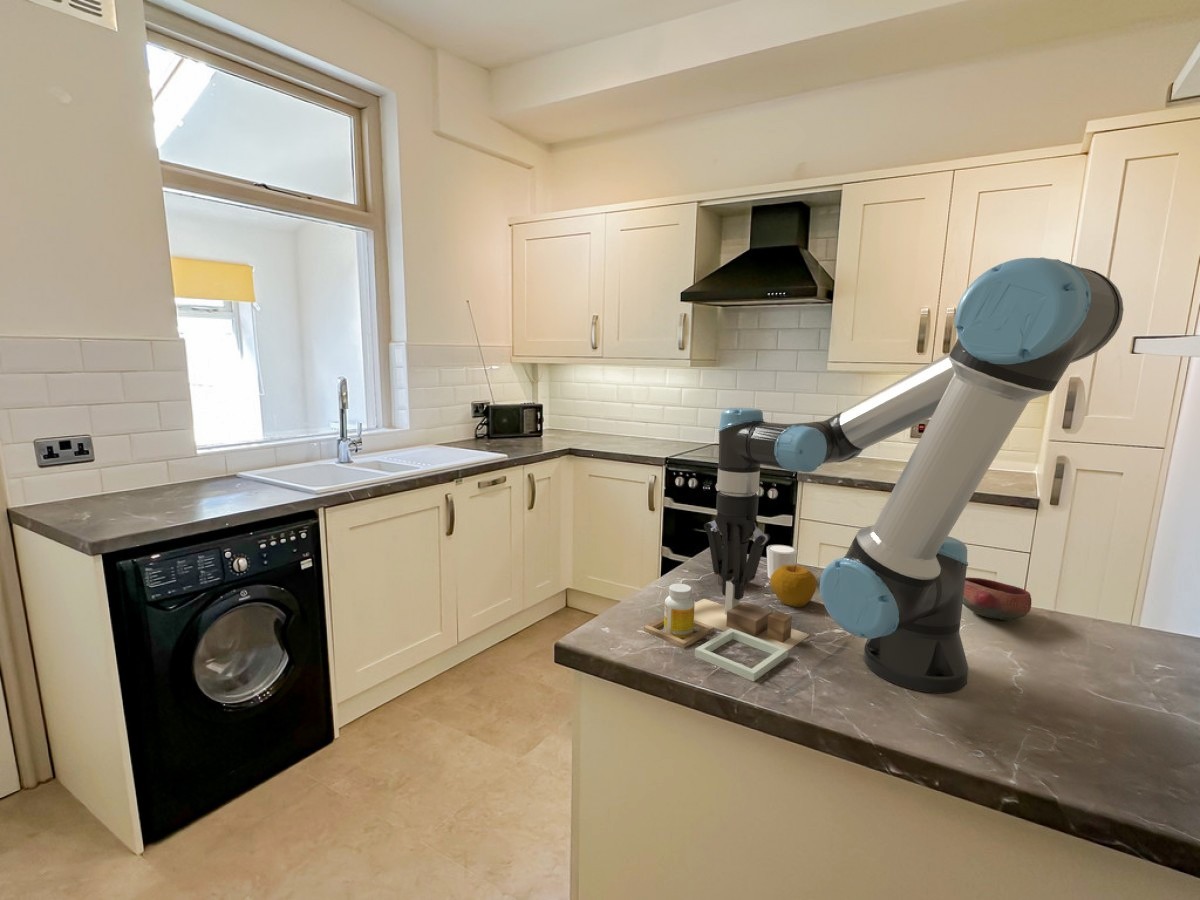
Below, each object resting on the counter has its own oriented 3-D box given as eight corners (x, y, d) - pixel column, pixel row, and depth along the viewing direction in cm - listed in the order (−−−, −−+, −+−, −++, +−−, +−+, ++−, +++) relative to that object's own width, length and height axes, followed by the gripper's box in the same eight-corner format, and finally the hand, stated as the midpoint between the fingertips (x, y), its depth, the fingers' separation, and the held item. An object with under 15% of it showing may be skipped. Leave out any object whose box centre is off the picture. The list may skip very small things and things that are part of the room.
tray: (787, 663, 99) (788, 649, 98) (753, 688, 91) (754, 673, 90) (730, 641, 106) (730, 628, 106) (694, 662, 98) (695, 648, 98)
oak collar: (713, 637, 108) (713, 627, 107) (683, 654, 101) (683, 643, 101) (673, 622, 114) (674, 612, 114) (643, 637, 107) (643, 626, 107)
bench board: (809, 641, 107) (811, 613, 106) (783, 660, 100) (784, 631, 99) (703, 603, 123) (704, 580, 122) (674, 618, 116) (675, 592, 115)
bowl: (945, 600, 126) (948, 564, 125) (1014, 607, 123) (1018, 571, 121) (971, 633, 110) (975, 593, 109) (1050, 642, 107) (1055, 601, 106)
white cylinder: (775, 570, 143) (777, 542, 142) (801, 578, 138) (803, 549, 137) (759, 576, 139) (760, 547, 138) (784, 585, 134) (786, 555, 133)
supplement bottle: (657, 636, 108) (658, 586, 106) (677, 628, 111) (679, 579, 110) (679, 647, 104) (680, 595, 102) (699, 638, 107) (701, 588, 106)
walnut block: (771, 626, 110) (772, 611, 109) (755, 636, 105) (756, 621, 105) (743, 616, 114) (744, 601, 113) (726, 626, 110) (727, 611, 109)
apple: (760, 605, 122) (763, 564, 121) (783, 594, 128) (785, 555, 127) (800, 620, 115) (803, 576, 114) (823, 607, 121) (826, 566, 120)
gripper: (780, 494, 107) (773, 618, 110) (718, 483, 116) (714, 598, 119) (759, 501, 101) (752, 630, 105) (696, 489, 110) (692, 608, 114)
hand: (731, 613), depth 112 cm, fingers closed
